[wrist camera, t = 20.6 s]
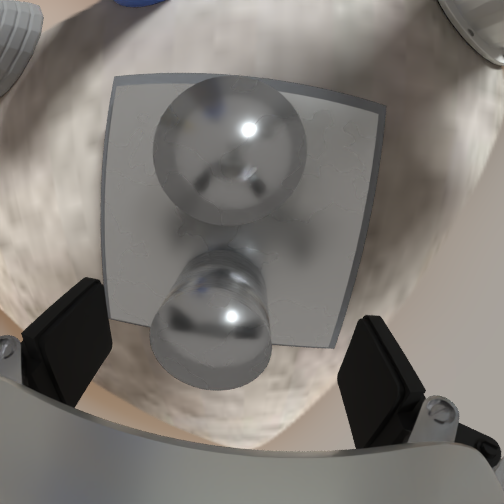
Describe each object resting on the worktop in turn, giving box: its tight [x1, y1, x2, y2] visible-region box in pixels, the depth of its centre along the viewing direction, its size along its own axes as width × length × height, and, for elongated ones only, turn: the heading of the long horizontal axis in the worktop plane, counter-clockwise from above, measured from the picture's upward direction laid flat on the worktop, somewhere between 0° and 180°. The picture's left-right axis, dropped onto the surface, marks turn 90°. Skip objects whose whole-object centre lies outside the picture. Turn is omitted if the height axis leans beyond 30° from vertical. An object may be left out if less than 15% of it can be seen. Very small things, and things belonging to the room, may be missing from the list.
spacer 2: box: [150, 250, 272, 390], centre depth 13 cm, size 5×5×5 cm
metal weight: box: [153, 76, 307, 226], centre depth 11 cm, size 5×5×5 cm
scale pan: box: [105, 84, 379, 347], centre depth 15 cm, size 14×14×1 cm
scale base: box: [101, 73, 386, 349], centre depth 18 cm, size 16×17×5 cm
